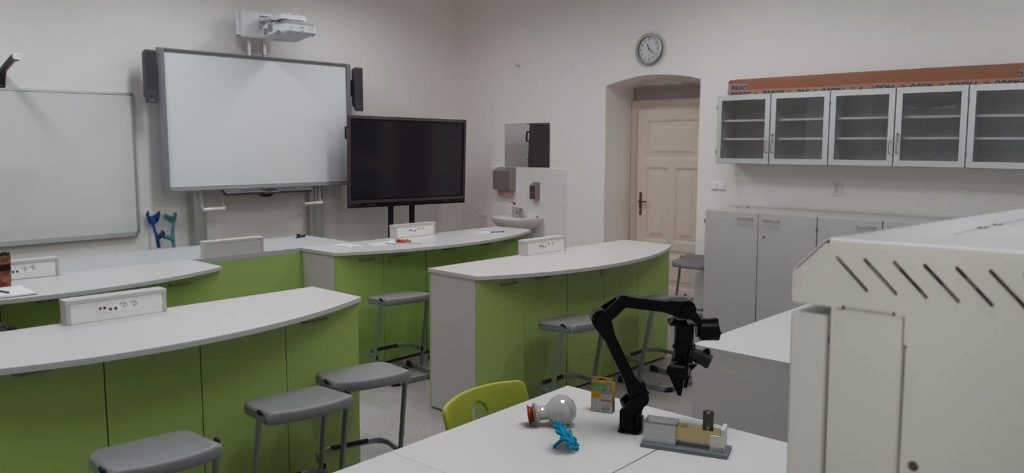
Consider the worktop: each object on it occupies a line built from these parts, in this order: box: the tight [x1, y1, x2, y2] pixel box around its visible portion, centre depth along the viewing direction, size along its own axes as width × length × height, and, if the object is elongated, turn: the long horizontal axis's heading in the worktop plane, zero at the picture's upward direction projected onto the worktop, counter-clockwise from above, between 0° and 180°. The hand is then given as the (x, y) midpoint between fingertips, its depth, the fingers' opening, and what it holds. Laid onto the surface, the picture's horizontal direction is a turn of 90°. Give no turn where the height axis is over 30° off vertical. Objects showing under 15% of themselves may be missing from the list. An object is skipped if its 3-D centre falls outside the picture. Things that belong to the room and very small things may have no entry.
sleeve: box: [643, 414, 681, 446], centre depth 226 cm, size 9×5×6 cm, turn 67°
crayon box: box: [590, 375, 616, 415], centre depth 256 cm, size 7×3×12 cm, turn 66°
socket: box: [710, 423, 728, 453], centre depth 220 cm, size 4×6×6 cm, turn 157°
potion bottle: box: [526, 393, 577, 426], centre depth 242 cm, size 9×10×15 cm
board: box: [639, 438, 733, 461], centre depth 223 cm, size 24×9×1 cm, turn 67°
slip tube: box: [676, 409, 721, 444], centre depth 222 cm, size 14×4×9 cm, turn 67°
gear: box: [552, 421, 580, 452], centre depth 222 cm, size 11×6×10 cm
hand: (682, 391), depth 237 cm, fingers open, 9 cm apart
